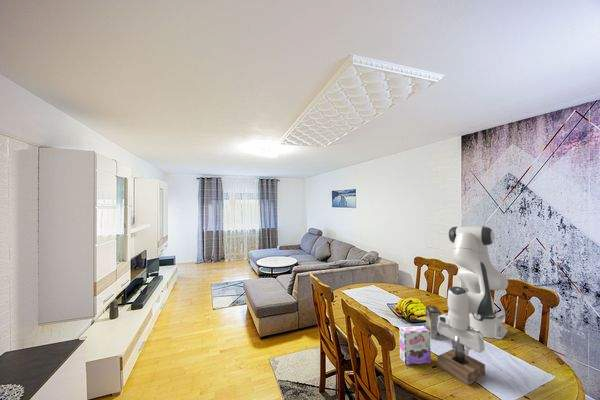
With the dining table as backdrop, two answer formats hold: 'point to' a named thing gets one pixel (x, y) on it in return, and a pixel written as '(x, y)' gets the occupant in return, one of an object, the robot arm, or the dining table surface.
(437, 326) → the robot arm
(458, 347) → the pin
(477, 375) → the socket block
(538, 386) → the dining table surface
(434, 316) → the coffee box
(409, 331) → the candy box
